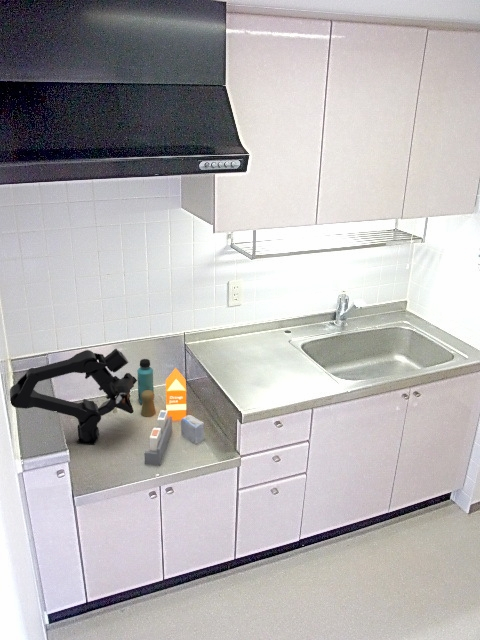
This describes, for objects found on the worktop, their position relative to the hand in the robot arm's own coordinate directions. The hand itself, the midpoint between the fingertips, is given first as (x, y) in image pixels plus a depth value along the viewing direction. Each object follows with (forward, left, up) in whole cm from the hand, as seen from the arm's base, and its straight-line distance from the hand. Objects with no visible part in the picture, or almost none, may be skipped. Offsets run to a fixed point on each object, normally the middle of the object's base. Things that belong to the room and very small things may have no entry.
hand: (132, 412), depth 199 cm
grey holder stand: (+10, -5, -12) cm, 16 cm away
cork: (+1, +16, -12) cm, 20 cm away
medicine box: (+21, +3, -12) cm, 25 cm away
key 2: (+11, +1, -10) cm, 15 cm away
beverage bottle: (-2, +24, -12) cm, 27 cm away
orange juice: (+12, +17, -12) cm, 24 cm away
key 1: (+11, -10, -10) cm, 18 cm away
